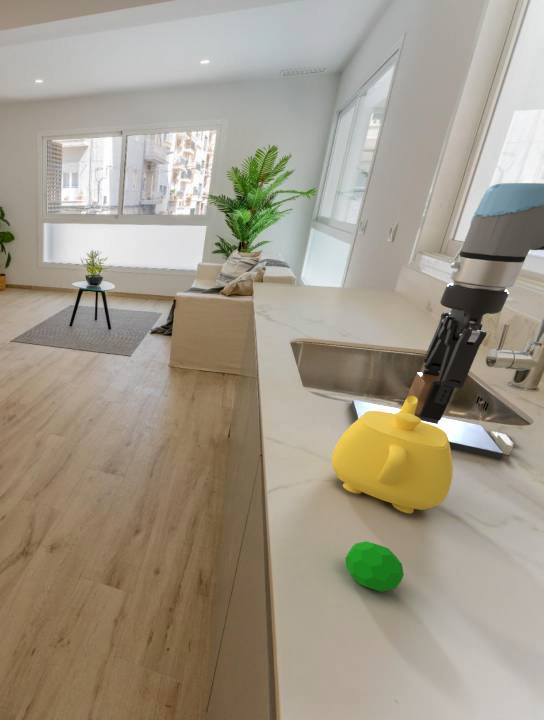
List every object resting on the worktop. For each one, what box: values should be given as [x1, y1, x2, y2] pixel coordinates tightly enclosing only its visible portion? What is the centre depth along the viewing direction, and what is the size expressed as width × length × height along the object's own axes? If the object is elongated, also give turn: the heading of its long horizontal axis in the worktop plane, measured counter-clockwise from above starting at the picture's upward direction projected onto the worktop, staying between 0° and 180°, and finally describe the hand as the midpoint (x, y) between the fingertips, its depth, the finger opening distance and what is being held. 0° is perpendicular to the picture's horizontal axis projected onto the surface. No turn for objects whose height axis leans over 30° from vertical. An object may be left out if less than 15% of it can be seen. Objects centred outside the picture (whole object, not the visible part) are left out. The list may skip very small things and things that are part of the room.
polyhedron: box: [344, 540, 405, 592], centre depth 47 cm, size 5×5×5 cm
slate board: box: [350, 399, 505, 461], centre depth 80 cm, size 20×11×2 cm, turn 61°
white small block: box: [494, 435, 514, 456], centre depth 74 cm, size 2×4×1 cm
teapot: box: [331, 396, 454, 514], centre depth 61 cm, size 13×20×12 cm
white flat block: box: [489, 430, 515, 446], centre depth 77 cm, size 2×4×1 cm, turn 150°
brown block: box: [405, 372, 439, 424], centre depth 78 cm, size 4×6×7 cm, turn 150°
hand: (425, 409), depth 78 cm, fingers closed on brown block, 6 cm apart
